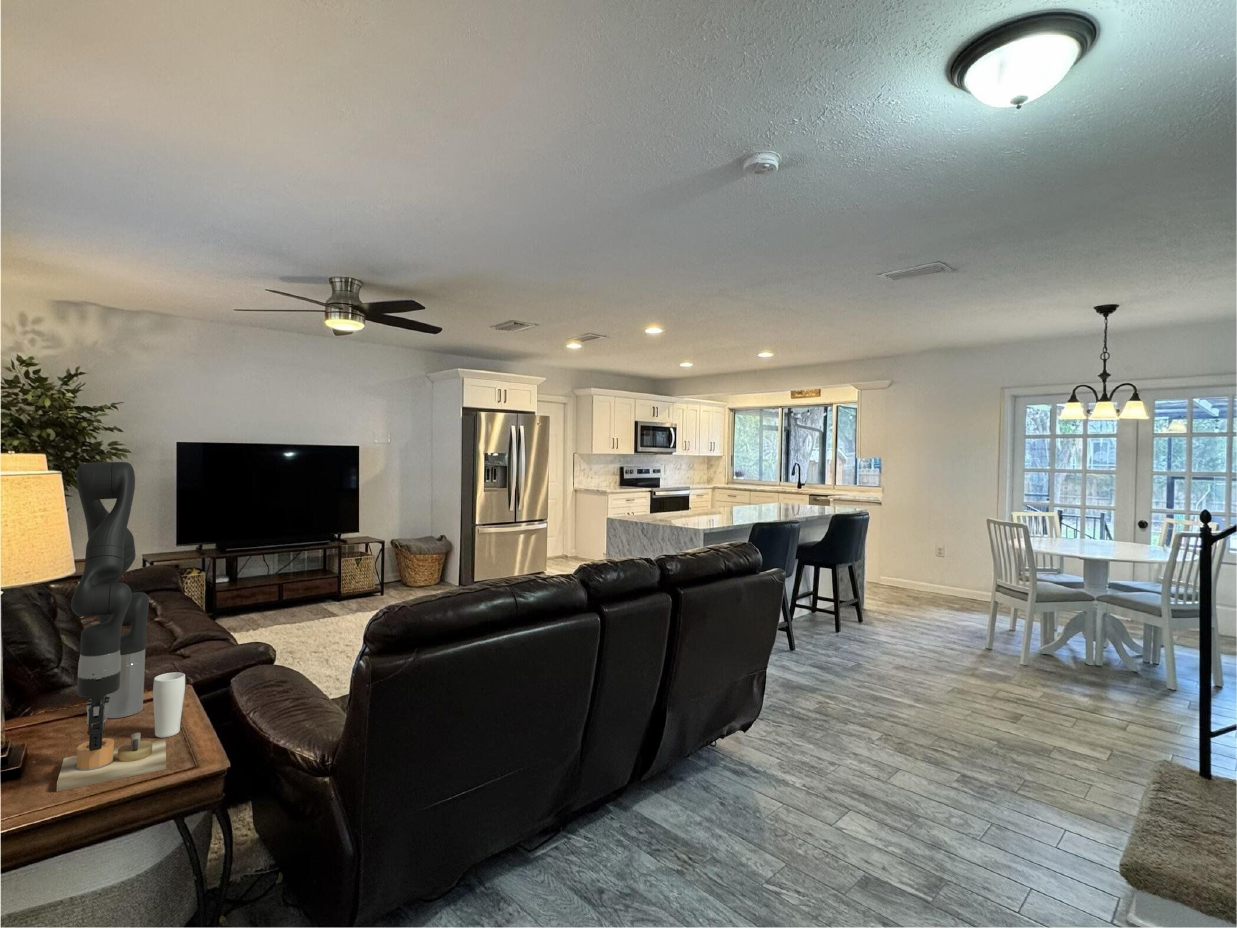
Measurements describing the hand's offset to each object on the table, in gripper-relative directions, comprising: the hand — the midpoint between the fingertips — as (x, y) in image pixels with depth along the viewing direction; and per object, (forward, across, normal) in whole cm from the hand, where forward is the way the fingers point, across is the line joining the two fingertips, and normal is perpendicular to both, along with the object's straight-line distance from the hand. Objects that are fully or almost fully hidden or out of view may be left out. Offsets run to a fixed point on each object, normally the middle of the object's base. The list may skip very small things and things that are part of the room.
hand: (96, 741), depth 143 cm
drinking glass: (+7, -15, +14) cm, 21 cm away
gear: (+4, 0, 0) cm, 5 cm away
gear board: (+7, 0, +3) cm, 8 cm away
